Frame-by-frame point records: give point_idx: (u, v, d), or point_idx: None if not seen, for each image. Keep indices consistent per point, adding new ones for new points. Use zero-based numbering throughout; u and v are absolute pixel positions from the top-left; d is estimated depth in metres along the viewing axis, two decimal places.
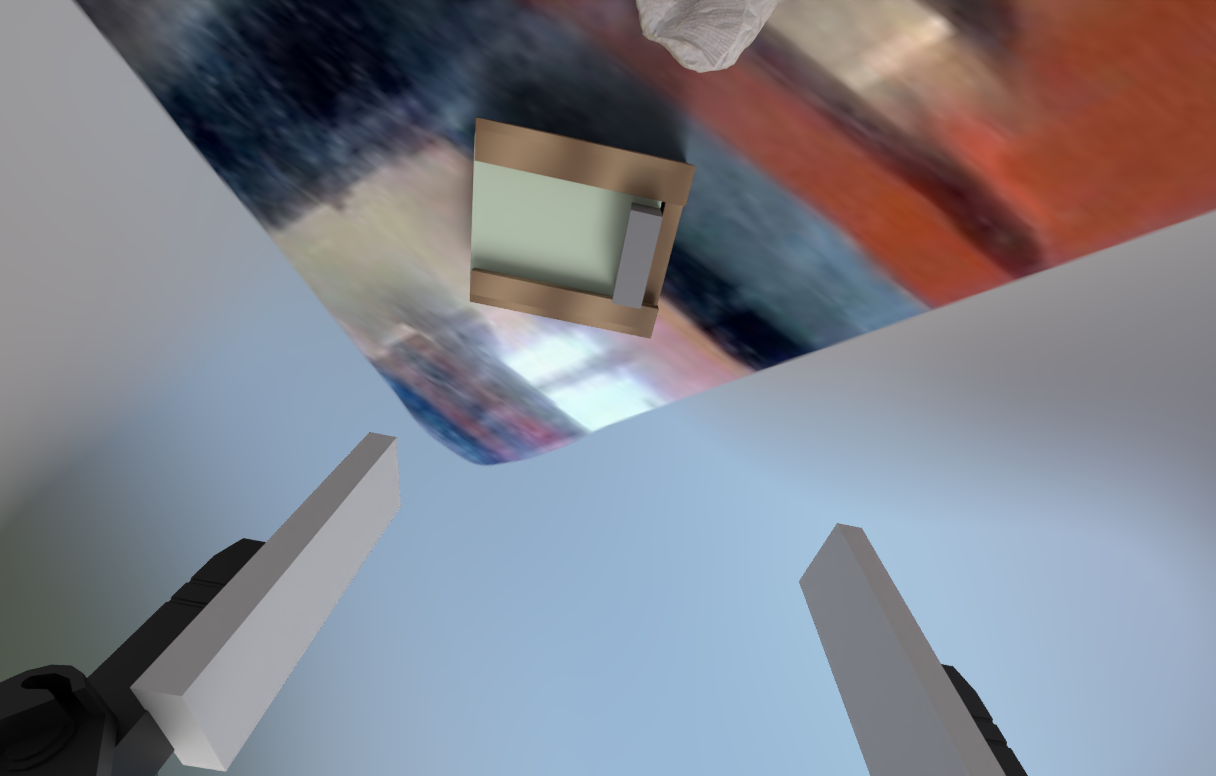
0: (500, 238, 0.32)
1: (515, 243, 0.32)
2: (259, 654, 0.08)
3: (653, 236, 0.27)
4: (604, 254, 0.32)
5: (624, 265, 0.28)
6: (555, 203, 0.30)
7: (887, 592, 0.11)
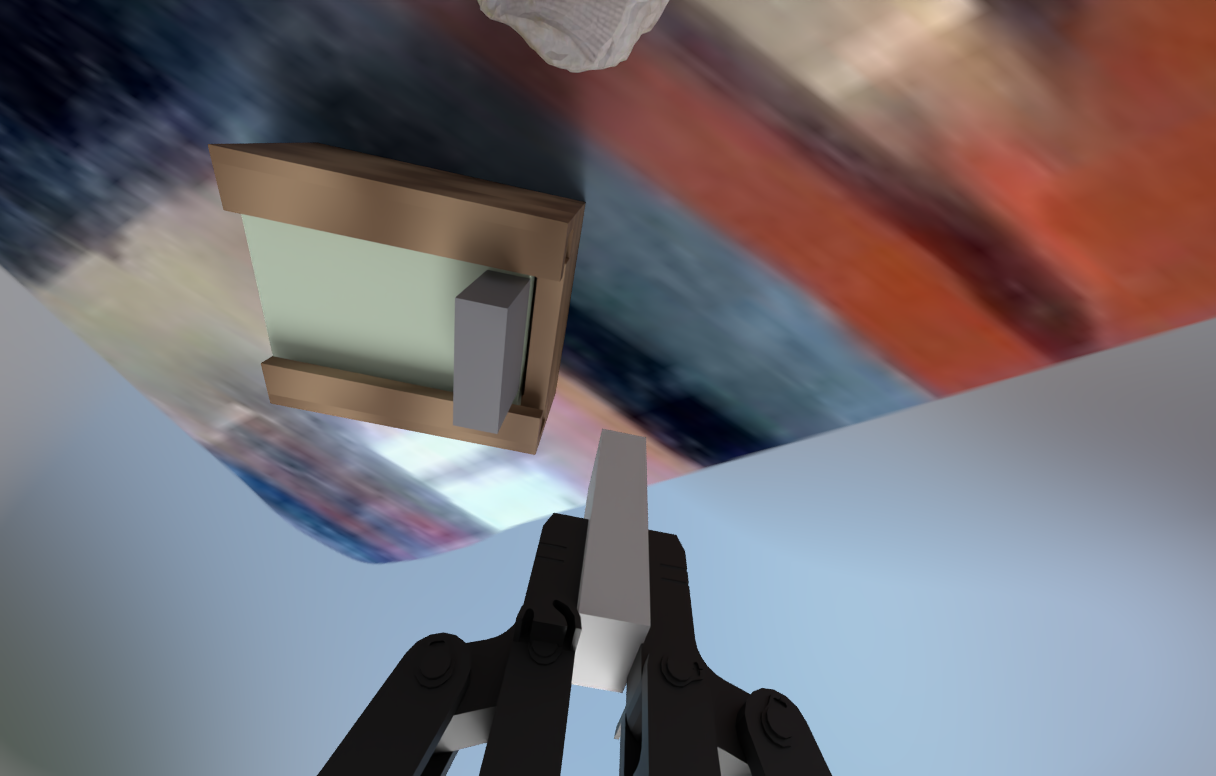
0: (305, 316, 0.21)
1: (328, 323, 0.21)
2: None
3: (498, 336, 0.17)
4: None
5: (461, 375, 0.18)
6: (373, 269, 0.20)
7: (635, 479, 0.13)
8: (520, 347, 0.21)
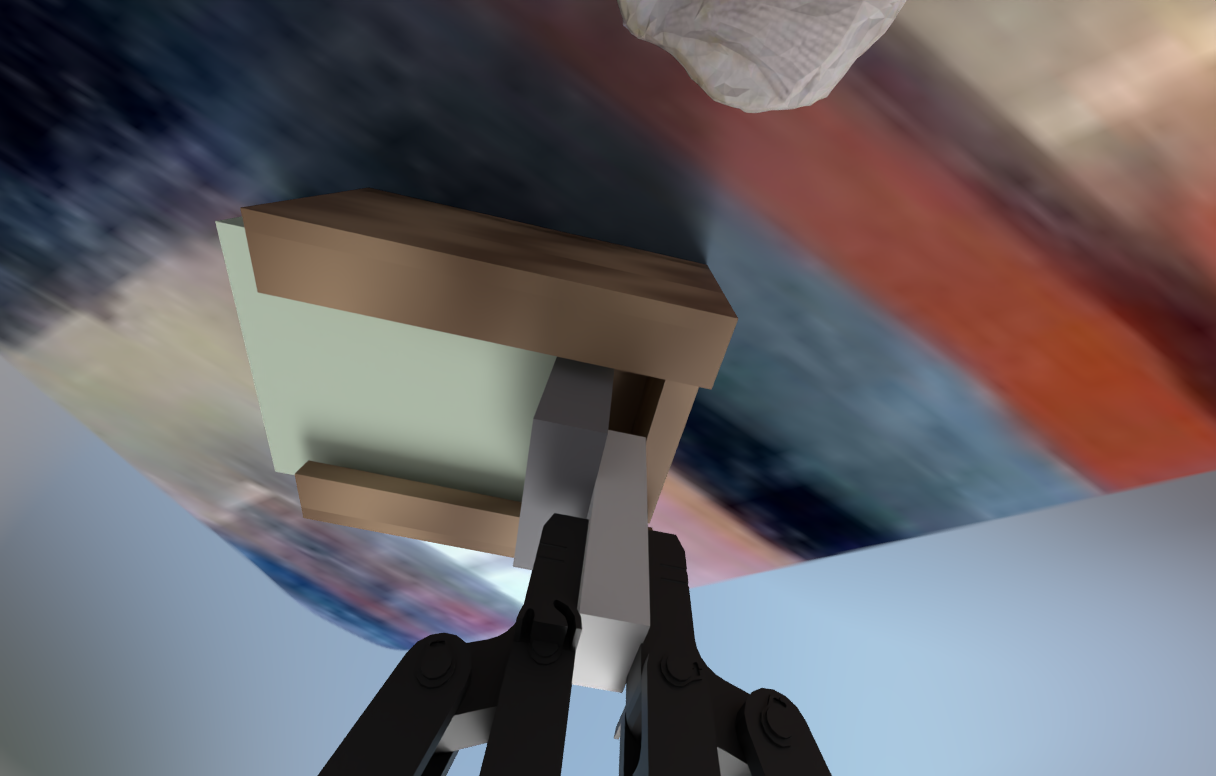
0: (313, 406, 0.16)
1: (343, 414, 0.17)
2: None
3: (589, 466, 0.12)
4: (513, 436, 0.17)
5: (530, 511, 0.13)
6: (406, 352, 0.15)
7: (635, 479, 0.13)
8: None
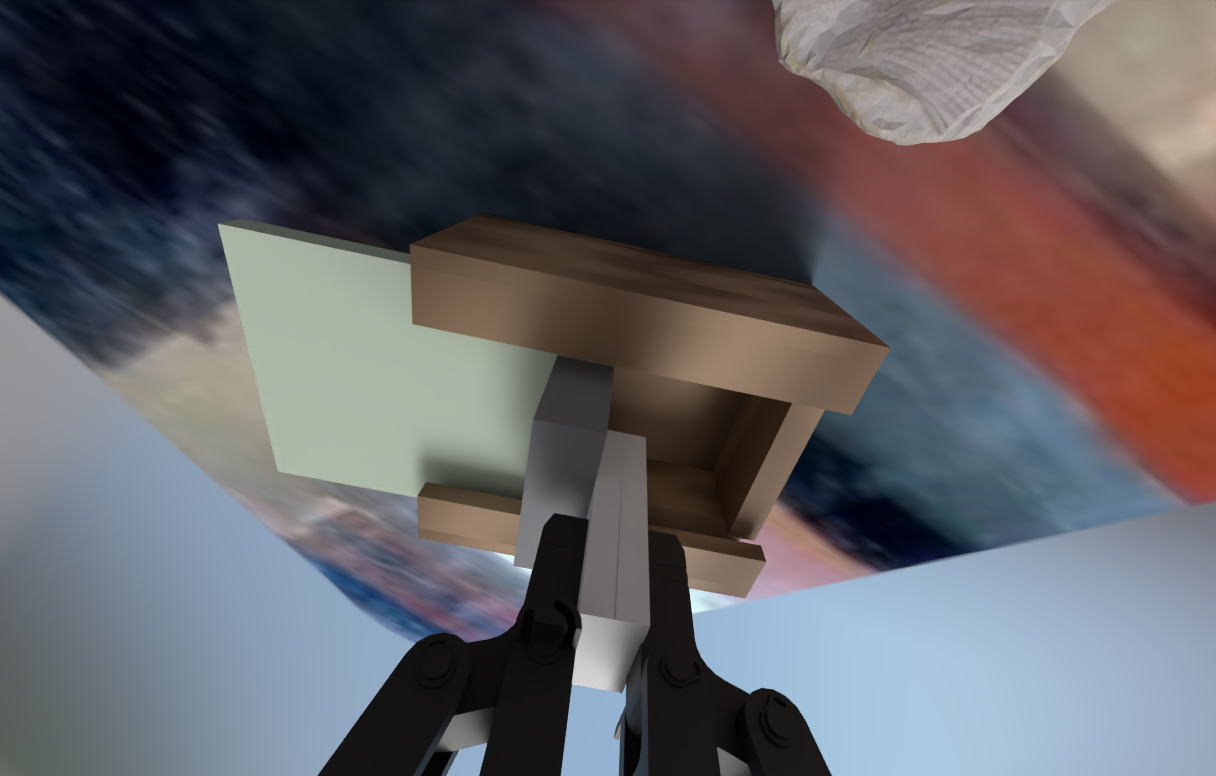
0: (315, 406, 0.17)
1: (345, 415, 0.17)
2: None
3: (588, 466, 0.12)
4: (513, 436, 0.17)
5: (531, 510, 0.13)
6: (407, 353, 0.15)
7: (635, 479, 0.13)
8: None
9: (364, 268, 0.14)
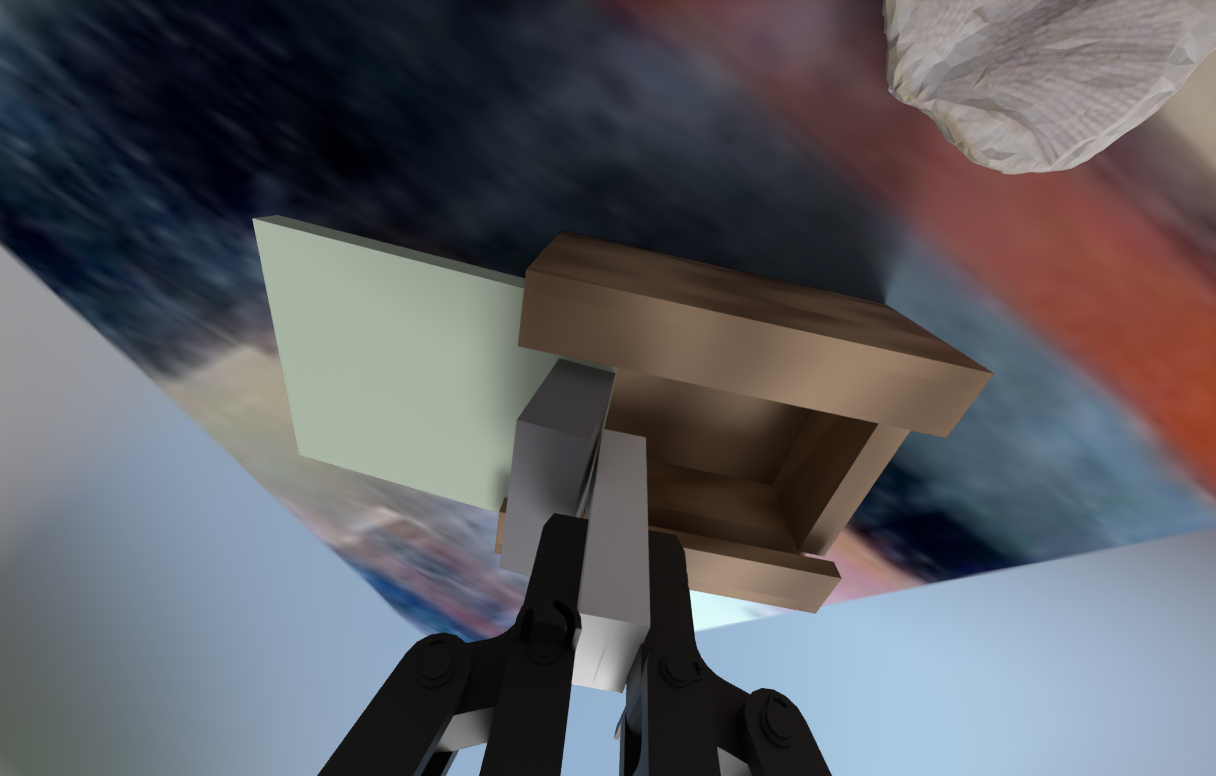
0: (333, 395, 0.17)
1: (359, 405, 0.17)
2: None
3: (572, 472, 0.12)
4: (515, 437, 0.17)
5: (516, 513, 0.13)
6: (416, 348, 0.16)
7: (635, 479, 0.13)
8: (594, 458, 0.16)
9: (379, 264, 0.14)
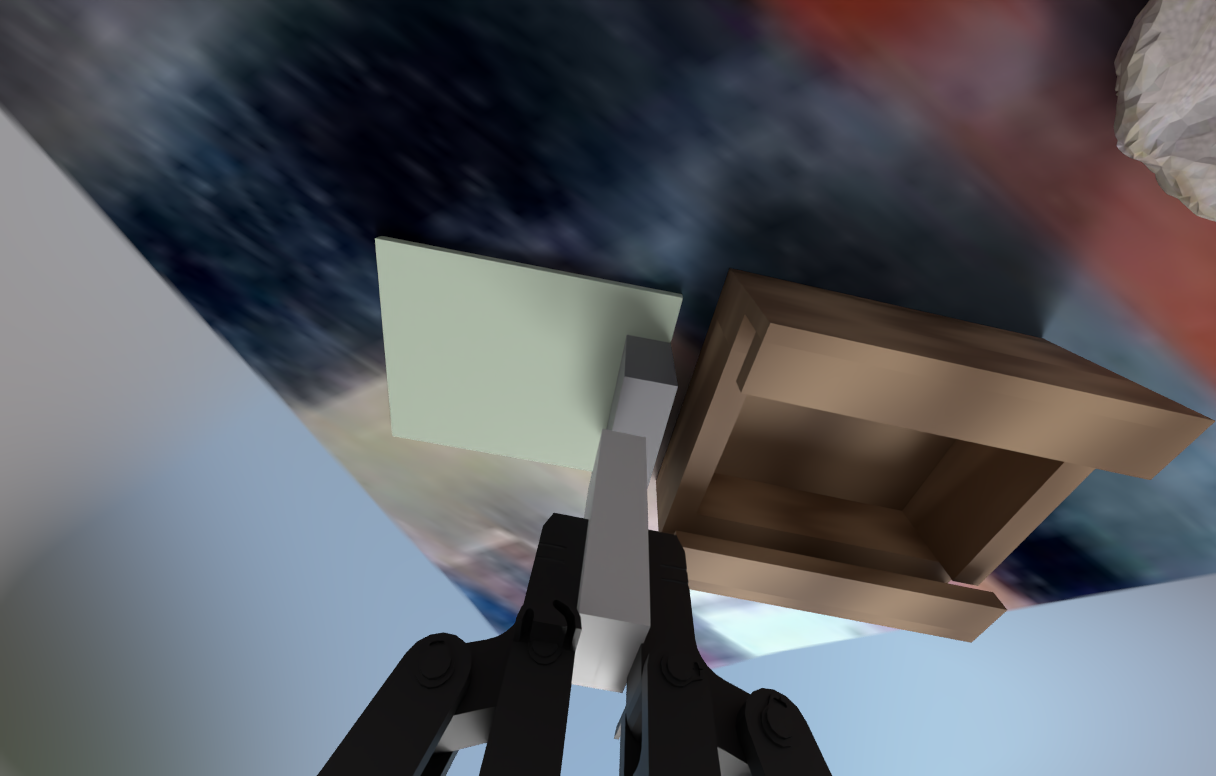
0: (430, 380, 0.21)
1: (453, 387, 0.21)
2: None
3: (662, 412, 0.16)
4: (587, 402, 0.21)
5: None
6: (508, 335, 0.20)
7: (635, 479, 0.13)
8: None
9: (482, 270, 0.18)
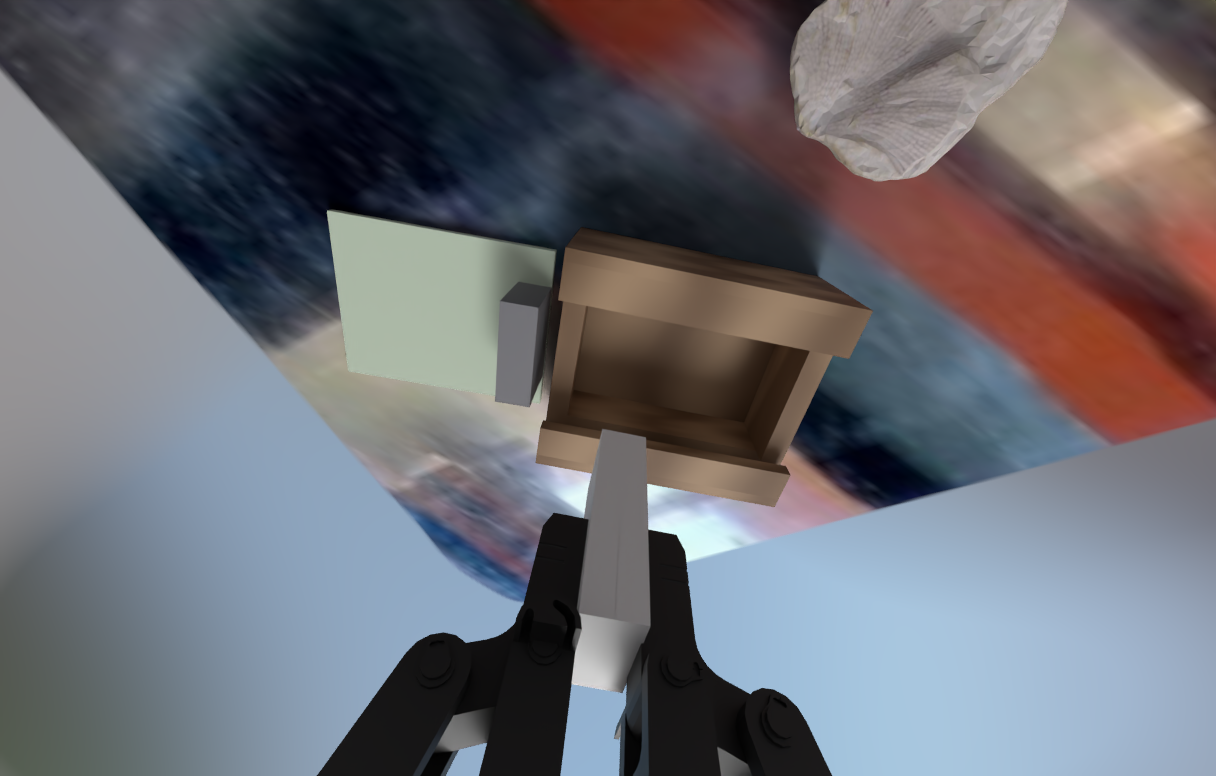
0: (374, 323, 0.27)
1: (392, 328, 0.27)
2: None
3: (531, 329, 0.23)
4: (495, 337, 0.27)
5: (502, 360, 0.24)
6: (430, 284, 0.26)
7: (635, 479, 0.13)
8: (544, 341, 0.26)
9: (407, 233, 0.25)
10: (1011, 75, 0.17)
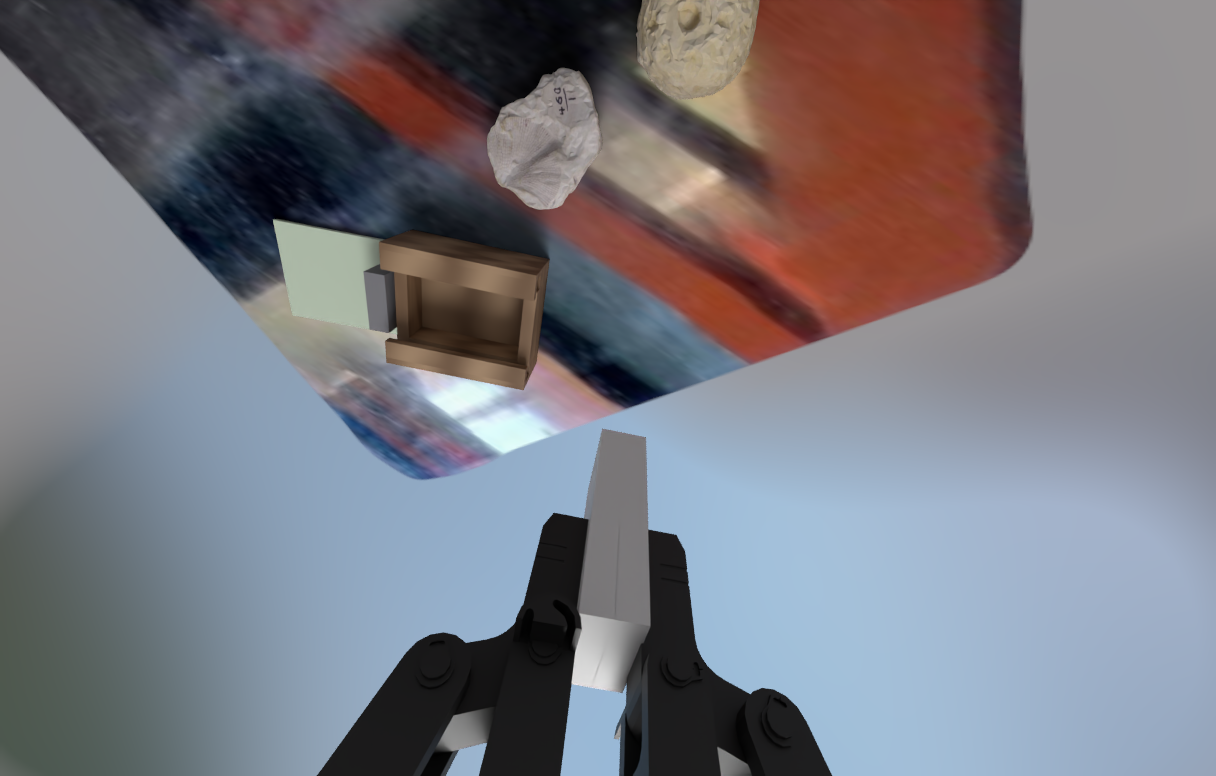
0: (305, 285, 0.46)
1: (316, 288, 0.46)
2: None
3: (382, 287, 0.42)
4: None
5: (369, 305, 0.43)
6: (335, 262, 0.45)
7: (635, 479, 0.13)
8: None
9: (319, 233, 0.44)
10: (583, 161, 0.36)
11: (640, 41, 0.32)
